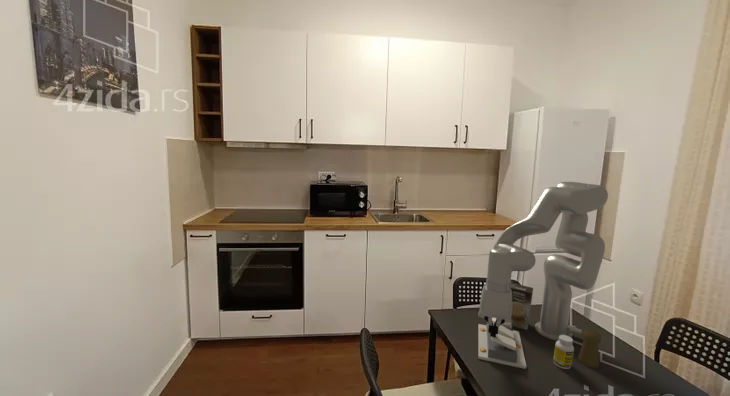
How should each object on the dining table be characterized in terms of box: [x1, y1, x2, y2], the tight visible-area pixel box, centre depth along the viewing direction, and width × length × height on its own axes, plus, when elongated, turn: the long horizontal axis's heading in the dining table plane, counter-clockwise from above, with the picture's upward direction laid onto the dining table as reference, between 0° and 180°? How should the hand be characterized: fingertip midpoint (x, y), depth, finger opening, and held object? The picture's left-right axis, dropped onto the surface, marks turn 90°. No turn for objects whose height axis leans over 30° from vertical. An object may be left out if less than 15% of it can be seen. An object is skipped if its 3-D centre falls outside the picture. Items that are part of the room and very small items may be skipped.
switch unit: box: [477, 321, 527, 370], centre depth 122 cm, size 15×22×4 cm
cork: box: [577, 329, 602, 368], centre depth 114 cm, size 6×6×11 cm
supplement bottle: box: [552, 335, 575, 370], centre depth 112 cm, size 5×5×10 cm
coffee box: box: [511, 282, 534, 331], centre depth 137 cm, size 9×6×16 cm
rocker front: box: [491, 334, 516, 351], centre depth 115 cm, size 8×4×2 cm, turn 72°
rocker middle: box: [492, 320, 514, 340], centre depth 121 cm, size 8×4×2 cm, turn 73°
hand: (492, 334), depth 116 cm, fingers closed
